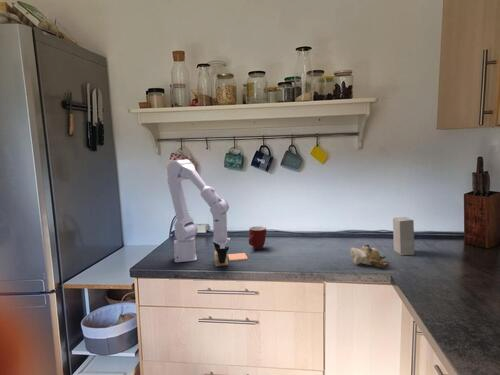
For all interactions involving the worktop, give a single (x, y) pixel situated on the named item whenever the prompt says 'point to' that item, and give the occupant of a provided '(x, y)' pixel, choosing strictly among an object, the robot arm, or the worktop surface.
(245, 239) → the worktop surface
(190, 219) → the robot arm
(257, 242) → the mug
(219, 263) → the block
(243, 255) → the coaster
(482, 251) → the worktop surface
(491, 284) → the worktop surface
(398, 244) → the skincare box
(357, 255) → the ceramic sculpture
